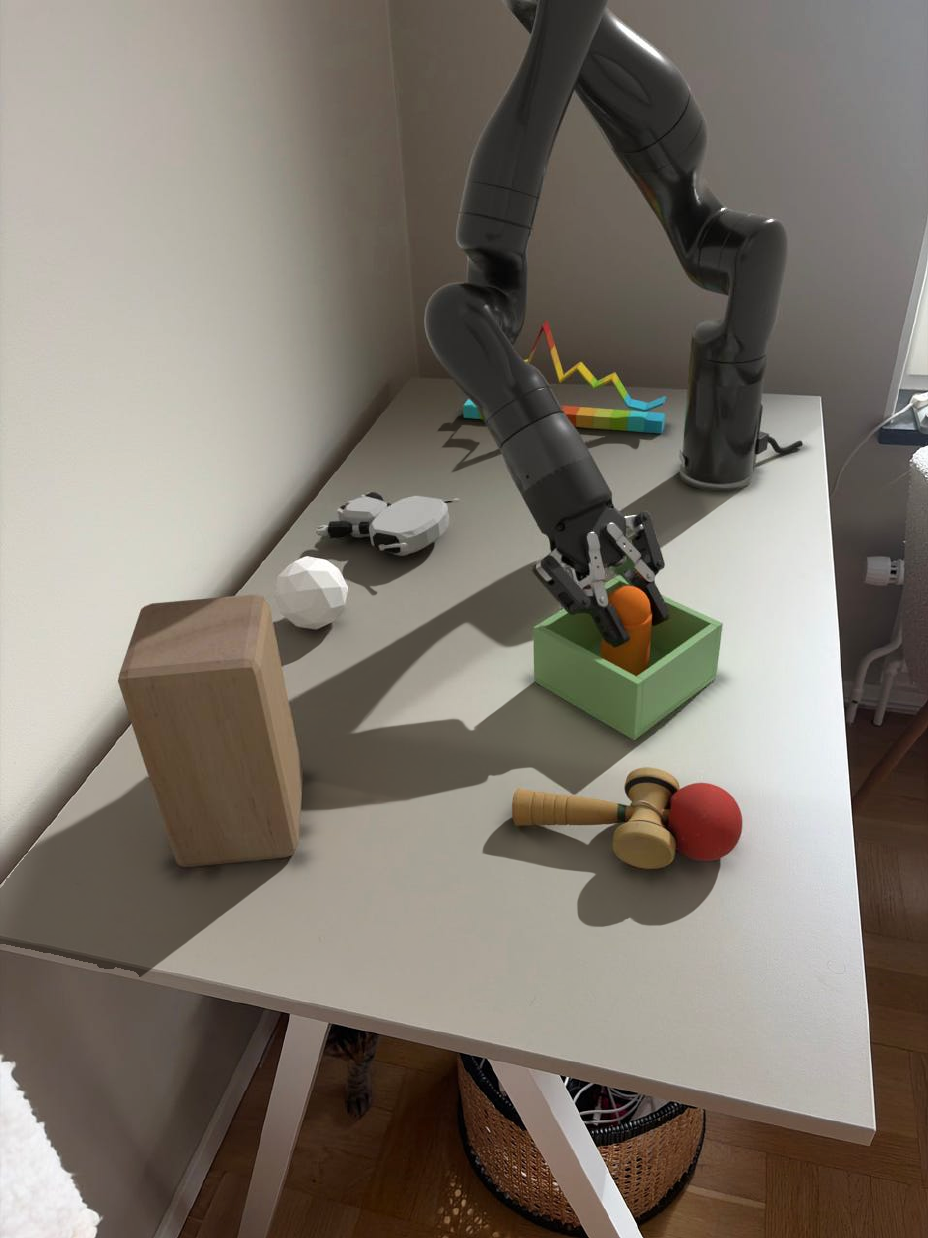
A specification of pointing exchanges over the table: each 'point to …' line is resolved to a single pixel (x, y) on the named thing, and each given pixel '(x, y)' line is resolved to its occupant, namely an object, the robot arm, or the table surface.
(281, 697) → the block
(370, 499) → the robot toy
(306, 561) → the geometric ball
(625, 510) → the table surface
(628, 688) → the bin
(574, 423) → the chart
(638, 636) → the orange peg figure
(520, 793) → the kendama
